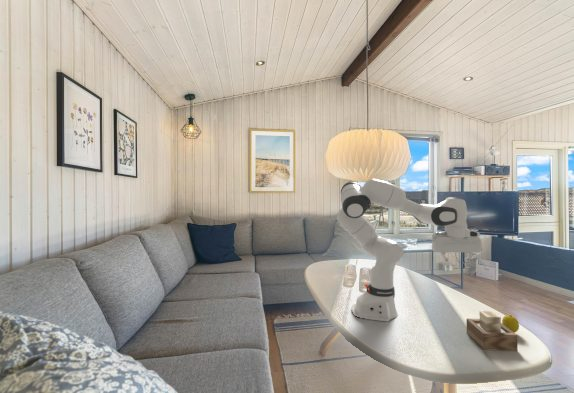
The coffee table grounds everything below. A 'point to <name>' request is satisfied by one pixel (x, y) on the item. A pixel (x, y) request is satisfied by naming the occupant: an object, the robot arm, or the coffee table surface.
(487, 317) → the ash block
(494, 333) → the walnut frame
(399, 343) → the coffee table surface
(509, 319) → the lemon
